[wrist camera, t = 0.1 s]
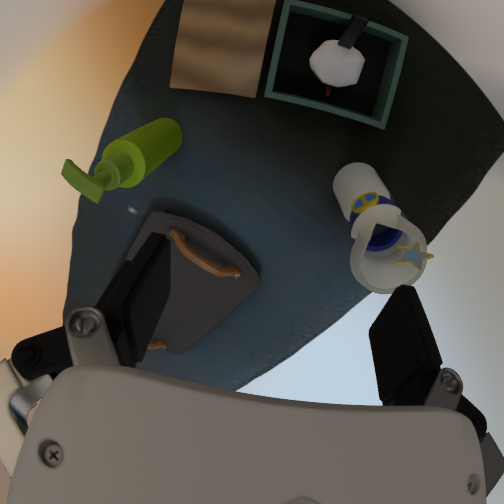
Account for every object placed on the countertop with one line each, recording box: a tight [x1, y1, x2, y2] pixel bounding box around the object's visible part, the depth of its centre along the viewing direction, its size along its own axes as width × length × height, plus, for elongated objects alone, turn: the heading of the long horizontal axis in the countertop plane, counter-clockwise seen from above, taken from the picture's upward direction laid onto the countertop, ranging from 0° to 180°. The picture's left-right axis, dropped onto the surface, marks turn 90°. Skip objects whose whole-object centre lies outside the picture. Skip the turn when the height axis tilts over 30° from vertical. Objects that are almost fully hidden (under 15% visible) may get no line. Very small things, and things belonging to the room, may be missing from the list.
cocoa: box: [309, 14, 369, 97], centre depth 26 cm, size 10×6×12 cm, turn 146°
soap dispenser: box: [61, 118, 183, 204], centre depth 31 cm, size 6×7×20 cm
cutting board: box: [170, 0, 277, 98], centre depth 30 cm, size 15×12×2 cm
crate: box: [264, 0, 409, 130], centre depth 29 cm, size 14×16×4 cm
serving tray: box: [118, 210, 262, 354], centre depth 56 cm, size 39×23×6 cm, turn 143°
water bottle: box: [333, 163, 434, 294], centre depth 31 cm, size 8×9×25 cm
